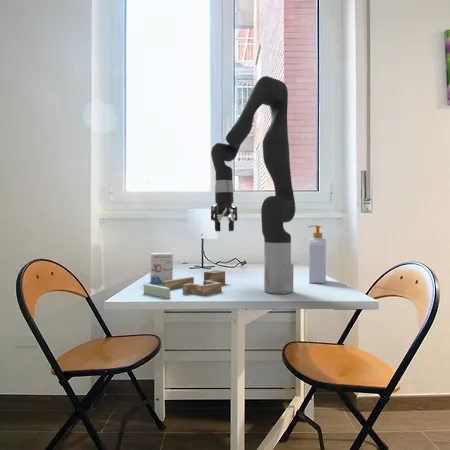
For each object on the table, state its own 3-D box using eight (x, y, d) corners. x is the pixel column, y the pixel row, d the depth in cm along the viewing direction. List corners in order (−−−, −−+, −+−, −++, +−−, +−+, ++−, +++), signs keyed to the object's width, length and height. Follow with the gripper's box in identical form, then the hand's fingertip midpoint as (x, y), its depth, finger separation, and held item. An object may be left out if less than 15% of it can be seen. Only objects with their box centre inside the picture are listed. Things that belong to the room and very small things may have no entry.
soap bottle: (308, 279, 149) (308, 225, 148) (325, 280, 147) (325, 225, 146) (307, 283, 140) (307, 225, 140) (325, 284, 138) (325, 225, 138)
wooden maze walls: (226, 290, 125) (226, 281, 125) (198, 296, 114) (198, 287, 114) (191, 284, 137) (191, 276, 137) (162, 289, 126) (162, 281, 126)
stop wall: (170, 297, 113) (170, 288, 113) (166, 298, 112) (166, 288, 112) (147, 292, 121) (147, 283, 121) (143, 293, 120) (143, 284, 120)
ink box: (151, 283, 139) (151, 253, 138) (150, 281, 143) (150, 252, 143) (172, 282, 141) (172, 253, 141) (171, 280, 146) (171, 252, 146)
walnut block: (225, 283, 139) (225, 271, 139) (213, 286, 134) (213, 273, 134) (215, 282, 142) (215, 270, 142) (203, 284, 137) (203, 271, 137)
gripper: (219, 190, 137) (220, 231, 137) (241, 192, 148) (242, 231, 148) (205, 191, 142) (206, 231, 142) (228, 193, 153) (228, 231, 153)
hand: (224, 231), depth 145 cm, fingers open, 8 cm apart
